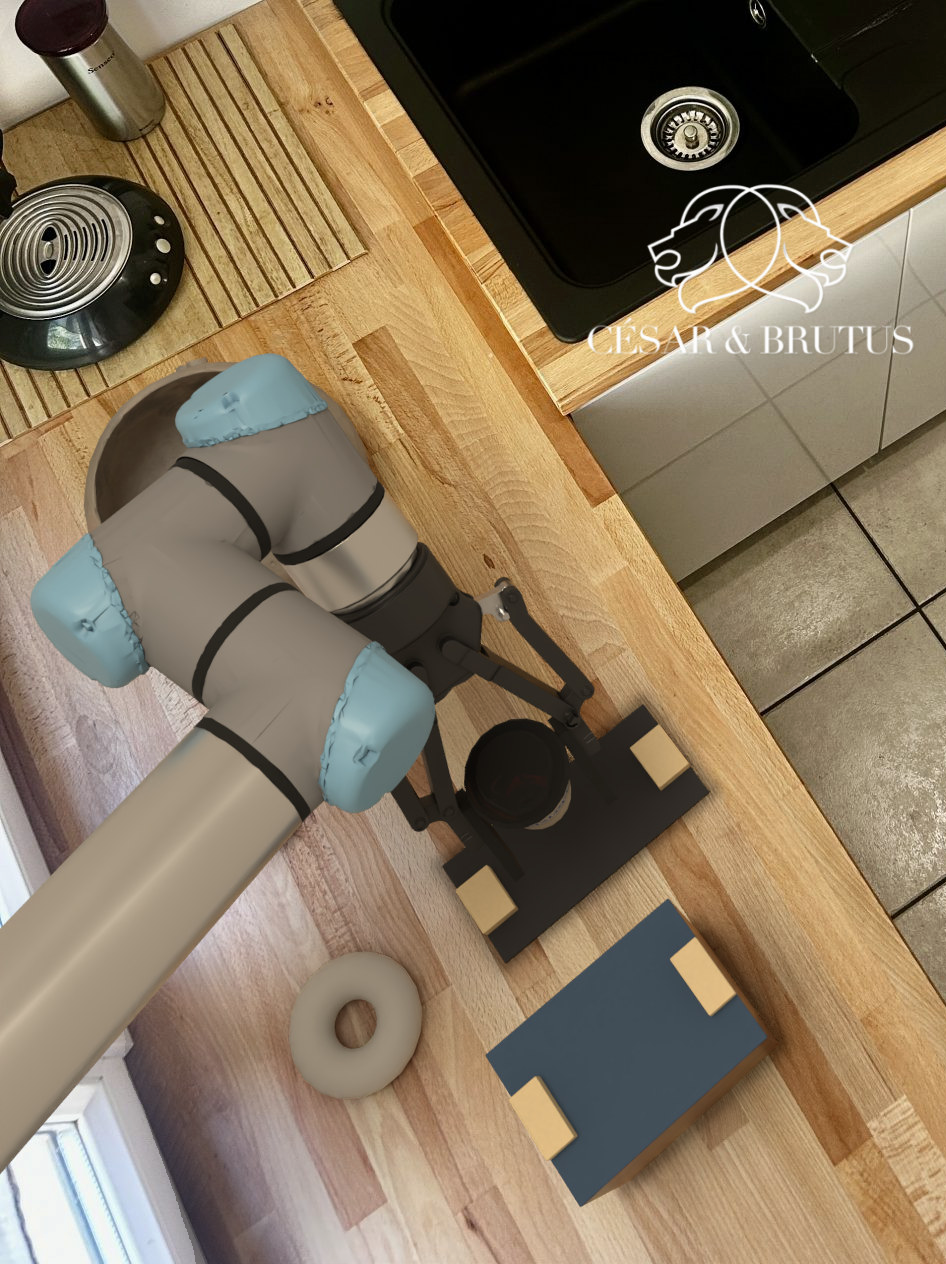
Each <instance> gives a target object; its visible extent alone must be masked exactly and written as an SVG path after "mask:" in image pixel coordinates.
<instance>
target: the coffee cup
mask: <svg viewBox="0 0 946 1264" xmlns="http://www.w3.org/2000/svg"><path fill="white" fill-rule="evenodd" d="M567 750H568V749H567V748H566V746H565V745H564V743H563V742H562V740H561V739H560V738H559V736H558V735H557V733H556V732H555V731H554V729H553V728H552V727H549V726H548V725H546V723H544V722H541V721H538V720H535V719H531V718H527V717H523V718H510V719H506V720H504V721H502V722H499V723H497V724H494V725H493V726H492V727H490V728H489V729H488V730H486V731H485V732H484V733H483V734H481V735H480V737H478V739H477V740H476V742H475V744H474V745H473V746H472V747H471V749H470V750H469V753H468V756H467V759H466V761H465V765H464V770H463V771H464V772H463V773H464V774H463V786H464V787H463V788H464V790H465V791H466V794H467V798H468V801H469V803H470V804H471V806H472V807H473V809H474V810H475V812H476V813H477V815H479V816H480V817H481V818H483V819H484V820H485V821H487V822H488V823H489V824H491V825H494V826H497V827H501V828H504V829H521V828H525V829H532V830H534V829H544V828H547V827H549V826H552V825H554V824H555V823H556V822H557V821H559V820H560V819H561V818H562V816H563V815H564V814H565V812H566V811H567V809H568V806H569V803H570V800H571V786H570V762H571V761H570V758H569V754H568V751H567Z"/></svg>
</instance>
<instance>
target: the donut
mask: <svg viewBox="0 0 946 1264" xmlns="http://www.w3.org/2000/svg"><path fill="white" fill-rule="evenodd" d="M355 1000H362V1001H366V1002H367V1003H369V1004H370V1005H371V1007H372V1008H373V1010H374V1012H375V1015H376V1026H375V1028H374V1029H375V1030H374V1032H373V1034H372V1036H371V1037H370V1039H369V1041H367V1042H366V1043H365V1044H364V1045H362V1046H360V1047H355V1048H350V1047H347V1046H344V1045H343V1044H342V1043H340V1040H339V1039H338V1037H337V1034H336V1030H335V1029H336V1020H337V1017H338V1014H339V1013H340V1011H341V1010H342V1008H343V1007H344V1006H346V1005H347V1004H348V1003H349V1002H352V1001H355ZM289 1017H290V1018H289V1028H288V1043H289V1048H290V1053H291V1054H290V1055H291V1058H292V1062H293V1063H294V1065H295V1067H296V1069H297V1070H298V1072H299V1074H300V1076H301V1077H302V1079H303V1080H304V1082H305V1083H307V1084H309V1085H310V1086H311V1087H312V1088H313V1089H315V1090H316V1091H317V1092H318V1093H320V1094H321V1095H325V1096H327V1097H331V1098H335V1099H337V1100H340V1101H341V1100H355V1099H363V1098H366V1097H368V1096H370V1095H373V1094H375V1093H378V1092H379V1091H382V1090H383V1089H385V1088H386V1087H387V1086H388V1085H389V1084H390V1083H392V1082H393V1081H394V1080H395V1079H396V1078H397V1077H399V1076H400V1075H401V1074H402V1072H403V1071H404V1069H405V1068H406V1066H407V1065H408V1063H409V1062H410V1060H411V1059H412V1057H413V1055H414V1054H415V1052H416V1048H417V1044H418V1042H419V1039H420V1036H421V1032H422V1022H423V1021H422V1019H423V1018H422V1017H423V1007H422V1001H421V999H420V995H419V991H418V987H417V985H416V983H415V982H414V980H413V979H412V977H411V975H410V974H409V973H408V971H407V970H406V968H404V966H402V965H401V964H400V963H398V962H397V961H396V960H395V959H393V958H392V957H390V956H388V955H385V954H383V953H382V954H381V953H379V952H376V951H371V950H366V951H365V950H363V951H351V952H348V953H345V954H343V955H340V956H337V957H335V958H333V959H330V960H328V961H327V962H326V963H325V964H324V965H322V966H321V967H320V968H318V969H317V970H316V971H315V972H314V973H312V974H311V975H310V977H309V979H308V980H307V981H306V983H305V984H304V986H303V987H302V989H300V991H299V993H298V995H297V997H296V1000H295V1002H294V1005H293V1007H292V1010H291V1014H290V1016H289Z"/></svg>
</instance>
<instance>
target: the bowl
mask: <svg viewBox="0 0 946 1264" xmlns="http://www.w3.org/2000/svg"><path fill="white" fill-rule="evenodd" d="M239 362H240V361H213V362H209V360H208V358H207V357H206V356H203V357H201V358H197V359H192V360H189V361H186V362H185V364H180V365H179V366H177V367H176V368H175V371H174V372H172V373H169V374H167V375H165V376H163V377H161V378H158V379H157V380H155V381H153V382H151V383H149V384H148V385H147V386H145V387H144V388H143V389H140V390H138V392H137V393H136V394H135V395H133V396H132V397H130V398H129V399H128V400H126V402H125V403H124V404H122V405H121V406H120V407H119V409H118V410H117V411H116V412H115V414H114V415H113V416H112V417H111V418H110V419H109V421H108V422H107V424H106V426H105V427H104V430H103V431H102V433H101V434H100V436H99V438H98V440H97V443H96V445H95V448H94V450H93V453H92V455H91V457H90V460H89V463H88V468H87V473H86V477H85V486H84V495H83V511H84V514H83V515H84V518H85V522H86V529H87V533H91V532H92V531H93V530H95V529H96V528H97V527H98V526H100V525H101V524H102V523H103V522H105V521H106V520H107V519H108V518H110V517H111V516H112V515H114V514H115V513H116V512H117V511H119V510H120V509H121V508H122V507H124V506H125V505H126V504H127V503H129V502H130V501H131V500H132V499H134V498H135V497H136V496H138V495H139V494H140V493H141V492H143V491H144V490H145V489H146V488H148V487H149V486H150V485H151V484H153V483H154V482H155V481H156V480H158V479H159V478H160V477H162V476H163V475H164V474H165V473H167V471H168V469H169V468H170V467H171V466H172V465H174V464H175V461H176V460H177V459H178V458H179V457H180V456H181V455H182V454H183V453H184V452H185V451H187V449H188V448H187V446H186V445H185V444H184V443H183V442H182V441H183V438H182V436H181V434H180V432H179V431H178V430H177V427H176V424H175V418H176V414H177V412H178V410H179V409H180V407H181V406H182V405H183V404H184V403H185V402H187V401H188V400H189V399H190V398H191V395H192V394H193V393H194V392H195V391H197V390H198V389H199V388H200V387H202V386H203V385H204V384H206V383H207V382H208V381H210V380H211V379H212V378H214V377H215V376H217V375H218V374H220V373H221V372H223V371H225V370H226V369H228V368H230V367H231V366H233V365H235V364H237V363H239ZM306 380H307V381H308V382H309V383H310V384H311V386H312V387H313V388H314V389H315V391H316V392H317V393H318V394H319V396H320V397H321V398H322V399H324V400H325V401H326V402H327V404H328V409H329V410H330V412H331V413H332V415H333V416H334V418H335V419H336V421H337V422H338V423H339V425H340V426H341V428H342V429H343V431H344V432H345V434H346V435H347V437H348V438H349V439H350V441H351V442H352V444H353V445H354V447H355V448H356V450H357V451H358V452H359V454H360V455H361V457H362V458H363V459H364V461H365V462H366V464H367V465H368V466H369V468H370V469H371V465H370V461H369V458H368V454H367V451H366V447H365V445H364V443H363V441H362V439H361V437H360V435H359V433H358V431H357V429H356V426H355V425H354V423H353V422H352V419H351V418H350V417H349V416H348V415H347V413H346V411H345V410H344V409H343V407H342V406H341V405H340V404H339V403H337V401H336V400H335V399H333V398H332V397H331V396H330V395H329V394H328V393H327V392H326V391H325V389H323V388H321V387H319V385H316V384H315V383H313V382H312V381H310V380H308V379H306ZM260 563H262V564H263V565H264V566H266V567H267V568H269V569H270V570H271V571H273V572H274V573H276V574H277V575H278V576H280V577H281V578H282V579H284V580H285V581H287V582H288V583H289V584H291V585H292V586H294V587H295V588H296V589H298V590H299V591H300V592H302V591H301V590H300V588H299V587H298V586H297V584H296V583H295V582H294V581H293V579H292V578H291V577H290V576H289V574H288V573H287V572H286V570H285V569H284V568H283V567H282V565H281V564H280V562H279V561H278V560H277V559H276V558H275V556H274V555H273V553H272V551H270V553H269V554H268V555H267V556H266V557H265V558H264V559H263V560H262V561H261V562H260ZM302 594H303V595H304V593H303V592H302Z"/></svg>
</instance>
